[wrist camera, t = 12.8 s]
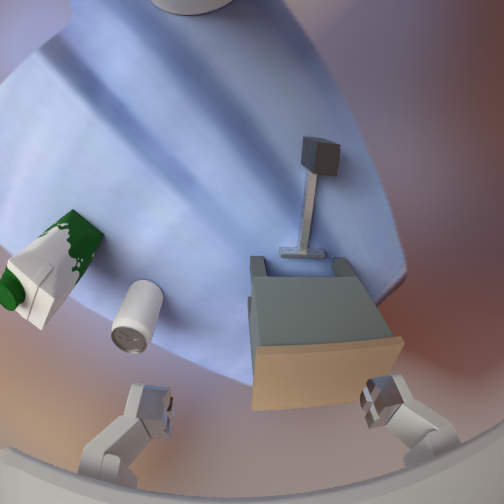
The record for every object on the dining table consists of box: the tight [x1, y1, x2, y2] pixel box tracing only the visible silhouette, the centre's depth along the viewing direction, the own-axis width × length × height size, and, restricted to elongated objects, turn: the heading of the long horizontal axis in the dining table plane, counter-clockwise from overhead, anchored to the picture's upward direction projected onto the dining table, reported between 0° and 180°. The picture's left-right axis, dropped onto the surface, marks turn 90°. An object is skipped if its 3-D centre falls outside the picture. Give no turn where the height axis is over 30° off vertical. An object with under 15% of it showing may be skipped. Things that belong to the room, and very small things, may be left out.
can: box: [111, 280, 163, 354], centre depth 43 cm, size 6×6×12 cm
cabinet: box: [248, 256, 405, 410], centre depth 40 cm, size 11×17×21 cm, turn 87°
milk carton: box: [0, 210, 104, 330], centre depth 34 cm, size 9×9×20 cm
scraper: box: [279, 137, 340, 258], centre depth 39 cm, size 18×7×7 cm, turn 177°
